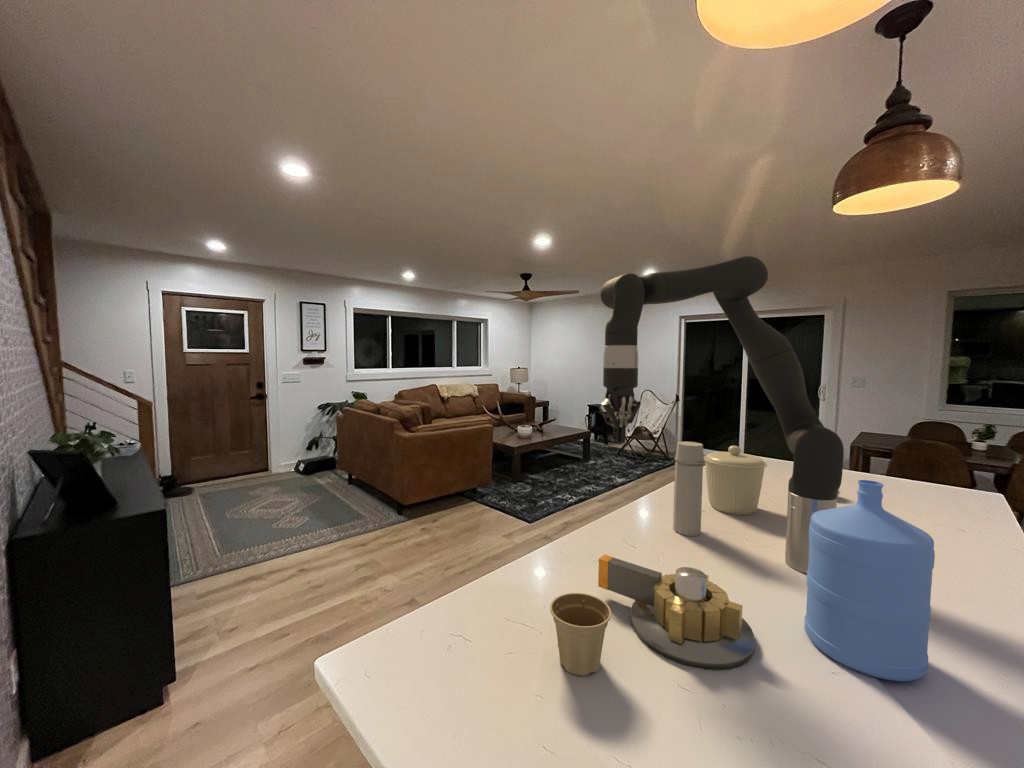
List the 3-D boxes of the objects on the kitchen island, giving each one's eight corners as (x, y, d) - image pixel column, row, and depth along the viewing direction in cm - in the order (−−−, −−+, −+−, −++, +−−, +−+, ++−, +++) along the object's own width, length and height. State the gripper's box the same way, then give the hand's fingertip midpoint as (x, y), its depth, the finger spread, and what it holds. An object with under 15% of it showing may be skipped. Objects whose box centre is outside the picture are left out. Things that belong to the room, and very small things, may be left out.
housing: (731, 603, 83) (733, 553, 82) (775, 678, 63) (778, 613, 63) (626, 592, 86) (627, 545, 86) (637, 660, 67) (638, 598, 66)
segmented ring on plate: (600, 580, 87) (600, 551, 87) (731, 603, 80) (732, 572, 79) (588, 624, 73) (589, 590, 72) (748, 658, 65) (750, 620, 64)
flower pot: (544, 643, 71) (545, 593, 70) (599, 640, 71) (600, 591, 71) (555, 686, 61) (556, 628, 61) (618, 682, 62) (619, 625, 62)
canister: (765, 508, 138) (768, 444, 137) (764, 525, 123) (767, 454, 122) (705, 498, 148) (707, 438, 147) (697, 513, 133) (699, 447, 132)
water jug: (893, 698, 60) (904, 503, 58) (783, 632, 74) (790, 475, 73) (948, 667, 66) (960, 490, 64) (837, 612, 80) (845, 467, 79)
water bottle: (694, 540, 112) (697, 447, 111) (666, 531, 118) (669, 443, 117) (709, 531, 118) (712, 443, 117) (682, 523, 124) (685, 439, 123)
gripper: (615, 366, 87) (614, 449, 88) (652, 366, 95) (650, 442, 96) (587, 366, 93) (586, 444, 94) (624, 366, 101) (623, 437, 102)
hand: (619, 443), depth 95 cm, fingers closed
